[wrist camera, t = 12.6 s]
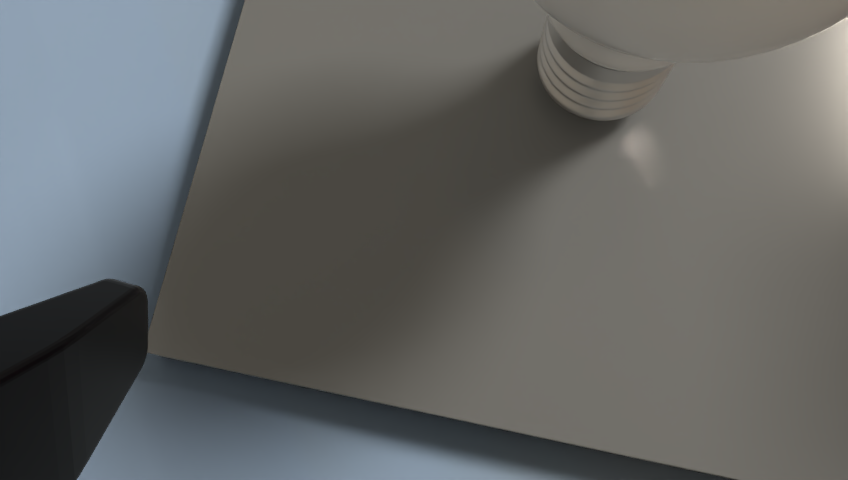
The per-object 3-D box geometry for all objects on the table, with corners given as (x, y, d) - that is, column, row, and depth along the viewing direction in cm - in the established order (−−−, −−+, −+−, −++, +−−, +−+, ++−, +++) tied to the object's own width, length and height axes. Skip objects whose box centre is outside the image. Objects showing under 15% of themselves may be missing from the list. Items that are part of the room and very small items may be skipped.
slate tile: (916, 518, 16) (946, 524, 15) (159, 356, 17) (142, 351, 16) (959, -148, 20) (986, -179, 19) (331, -248, 21) (326, -280, 20)
